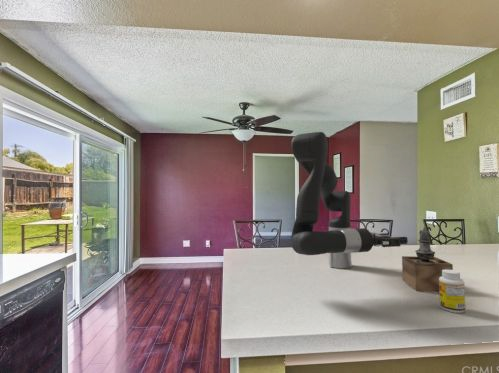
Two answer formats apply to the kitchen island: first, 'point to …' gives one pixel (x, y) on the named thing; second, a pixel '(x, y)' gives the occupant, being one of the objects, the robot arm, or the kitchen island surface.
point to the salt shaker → (424, 248)
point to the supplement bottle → (452, 291)
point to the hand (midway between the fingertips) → (396, 238)
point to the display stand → (423, 273)
